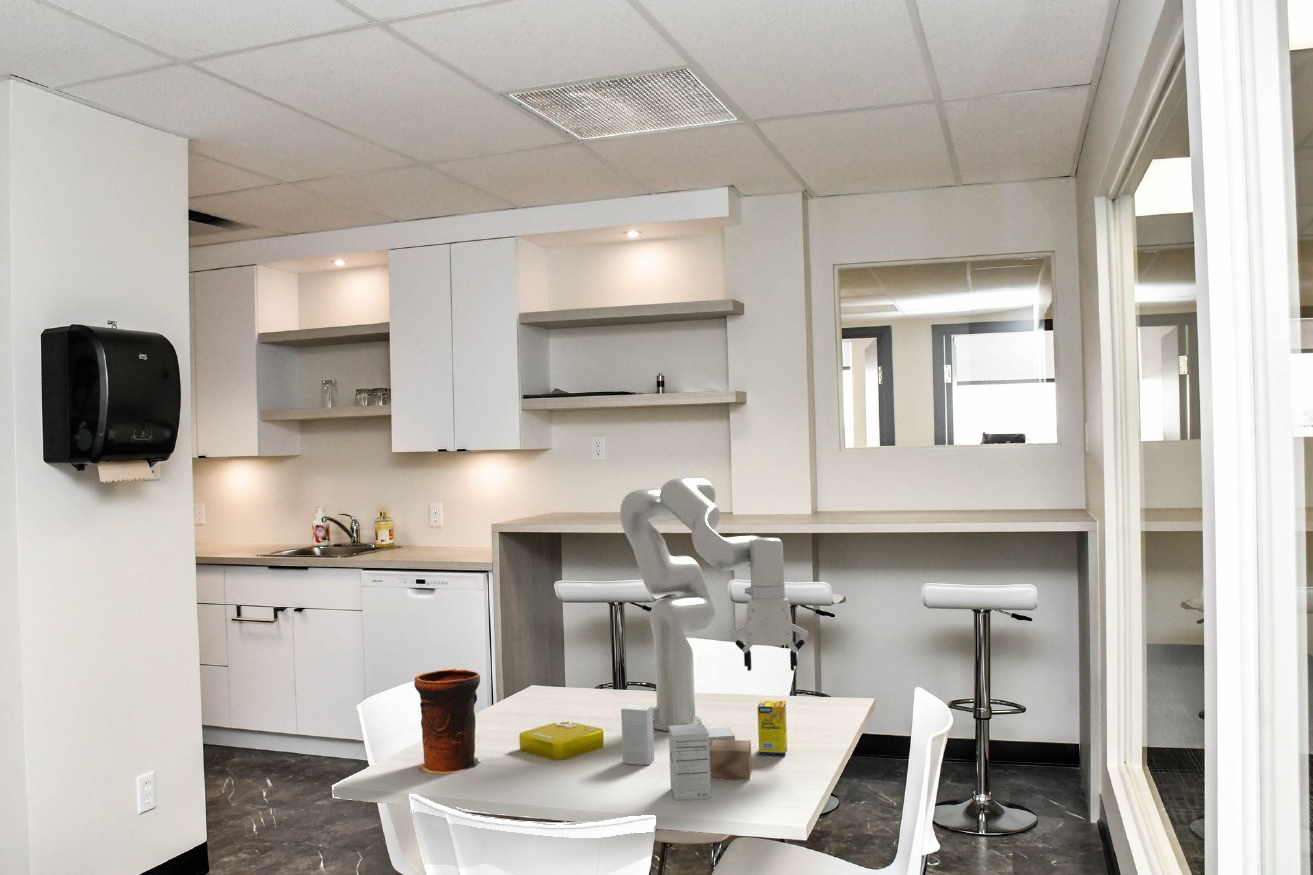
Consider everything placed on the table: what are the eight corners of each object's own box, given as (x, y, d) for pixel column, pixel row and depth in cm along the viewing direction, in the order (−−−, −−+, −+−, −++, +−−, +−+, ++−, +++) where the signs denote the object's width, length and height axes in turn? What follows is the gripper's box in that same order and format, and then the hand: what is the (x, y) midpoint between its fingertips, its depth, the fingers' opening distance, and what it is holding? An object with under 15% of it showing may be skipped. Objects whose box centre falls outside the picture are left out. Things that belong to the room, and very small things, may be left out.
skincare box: (654, 760, 220) (653, 705, 220) (648, 765, 216) (646, 710, 216) (629, 758, 222) (627, 704, 222) (622, 763, 218) (620, 708, 218)
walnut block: (710, 780, 205) (709, 750, 206) (714, 768, 213) (713, 740, 213) (749, 780, 204) (748, 751, 204) (751, 768, 212) (750, 740, 212)
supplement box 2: (785, 756, 220) (784, 706, 220) (758, 755, 221) (756, 705, 221) (787, 748, 226) (786, 700, 226) (761, 748, 227) (759, 699, 227)
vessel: (409, 760, 225) (409, 671, 226) (471, 753, 231) (471, 666, 232) (420, 778, 212) (420, 683, 213) (486, 769, 218) (486, 677, 218)
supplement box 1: (670, 788, 200) (668, 725, 201) (706, 786, 201) (704, 723, 201) (673, 800, 193) (671, 734, 193) (711, 798, 194) (709, 732, 194)
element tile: (516, 751, 231) (515, 731, 232) (564, 737, 242) (563, 717, 243) (559, 763, 221) (558, 741, 221) (607, 747, 232) (606, 727, 232)
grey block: (703, 765, 215) (702, 737, 216) (699, 756, 222) (698, 729, 223) (735, 763, 216) (734, 735, 216) (730, 754, 223) (729, 727, 223)
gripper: (728, 595, 222) (731, 673, 221) (806, 594, 219) (809, 672, 219) (731, 591, 229) (733, 666, 229) (807, 590, 227) (810, 666, 226)
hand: (771, 669), depth 224 cm, fingers open, 9 cm apart
